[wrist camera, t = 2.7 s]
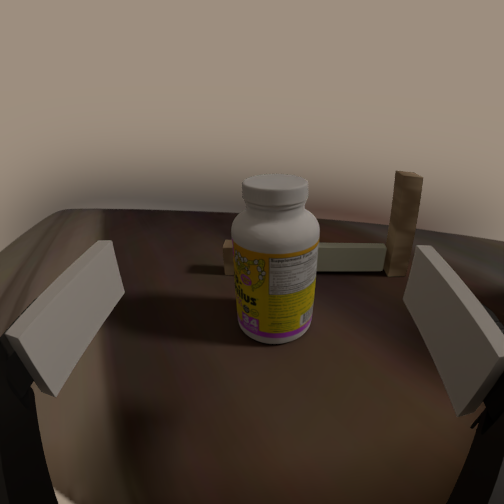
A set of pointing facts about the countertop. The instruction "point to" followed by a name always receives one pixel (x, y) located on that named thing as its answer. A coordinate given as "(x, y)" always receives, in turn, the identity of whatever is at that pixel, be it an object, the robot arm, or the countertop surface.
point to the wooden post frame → (399, 226)
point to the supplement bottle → (275, 258)
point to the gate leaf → (351, 257)
